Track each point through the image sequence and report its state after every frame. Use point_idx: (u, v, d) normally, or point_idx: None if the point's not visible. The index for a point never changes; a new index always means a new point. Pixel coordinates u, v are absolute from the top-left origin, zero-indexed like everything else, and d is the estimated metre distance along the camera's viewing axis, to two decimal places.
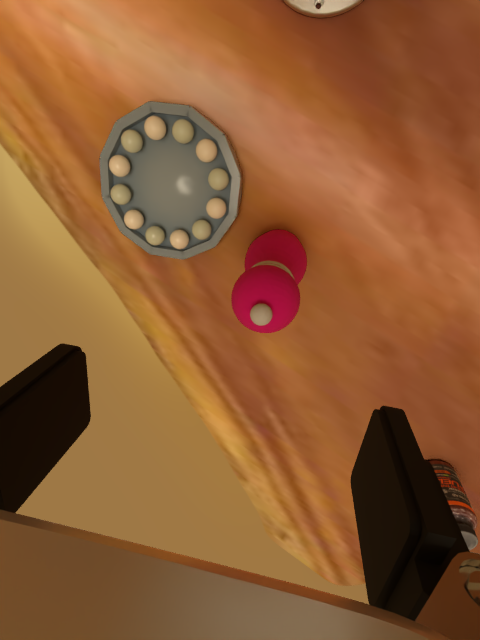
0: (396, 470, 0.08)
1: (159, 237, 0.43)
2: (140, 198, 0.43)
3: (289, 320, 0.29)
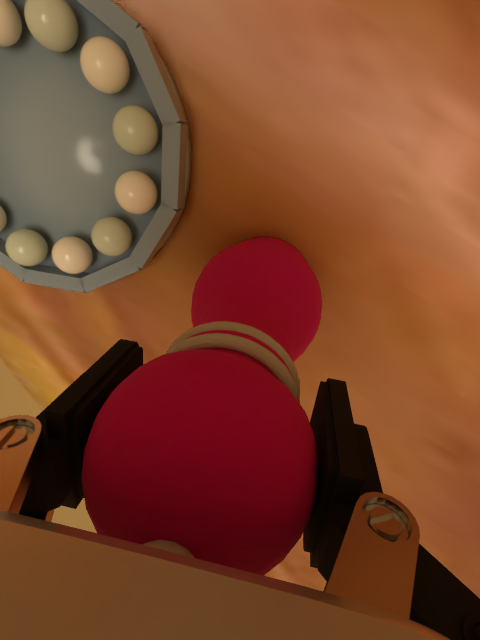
0: (326, 429, 0.09)
1: (31, 251, 0.22)
2: None
3: (281, 560, 0.08)
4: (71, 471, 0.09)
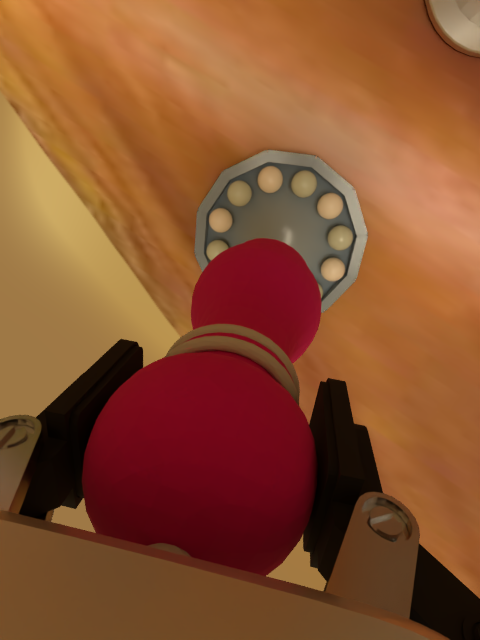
0: (326, 429, 0.09)
1: None
2: None
3: (280, 563, 0.08)
4: (70, 470, 0.09)
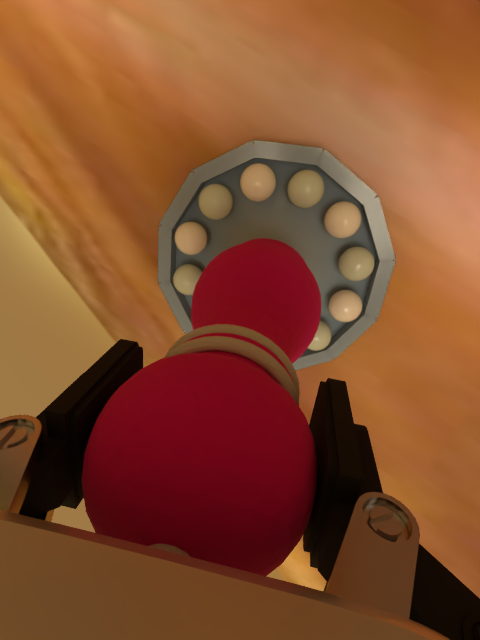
0: (326, 429, 0.09)
1: None
2: None
3: (280, 563, 0.08)
4: (70, 471, 0.09)
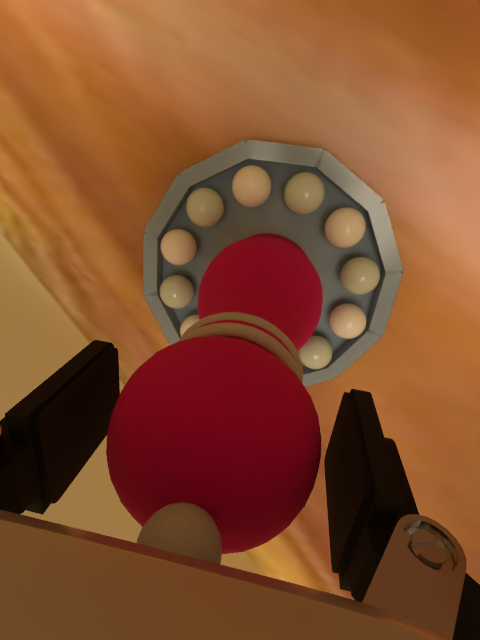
0: (357, 445, 0.08)
1: None
2: None
3: (287, 526, 0.09)
4: (35, 476, 0.08)
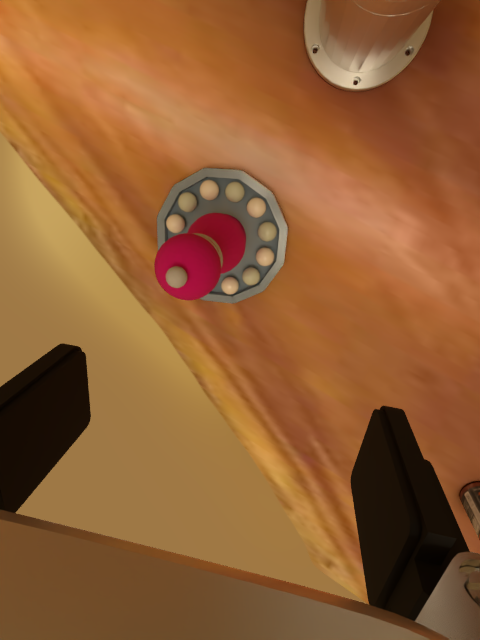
0: (396, 470, 0.08)
1: None
2: None
3: (209, 284, 0.30)
4: None
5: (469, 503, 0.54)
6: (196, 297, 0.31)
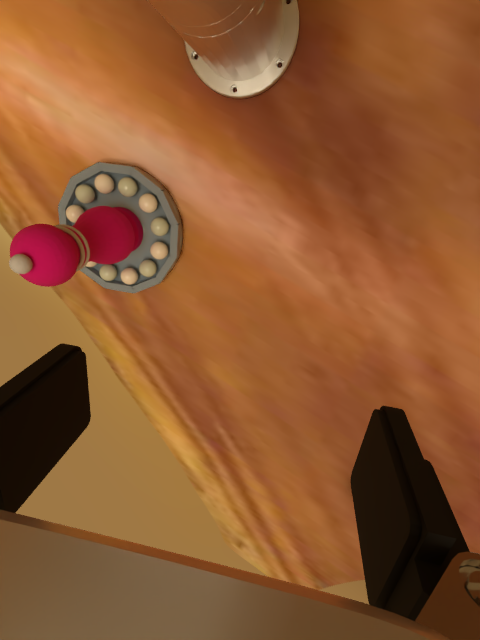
0: (396, 470, 0.08)
1: (111, 274, 0.49)
2: None
3: (58, 273, 0.33)
4: None
5: None
6: (49, 284, 0.33)
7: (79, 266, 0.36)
